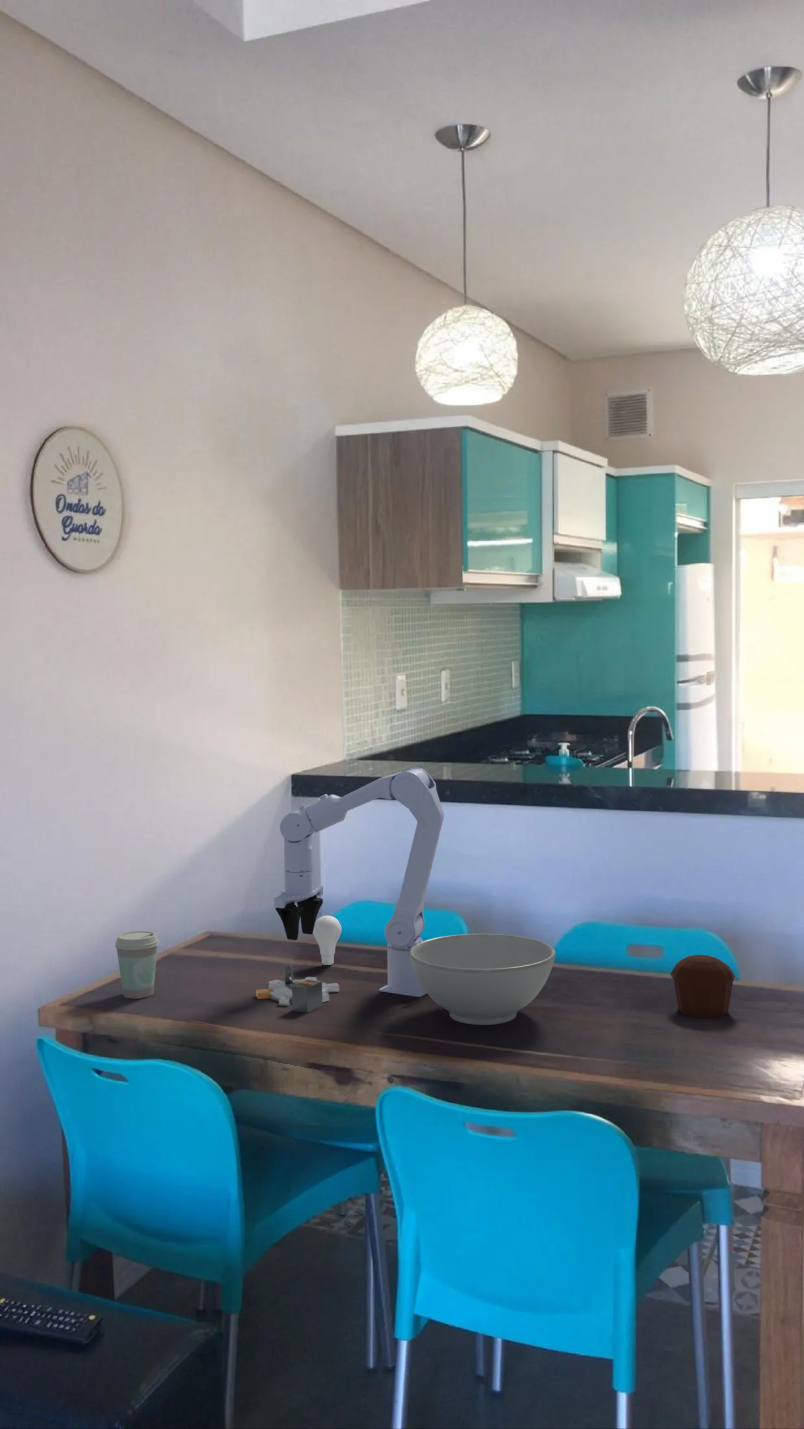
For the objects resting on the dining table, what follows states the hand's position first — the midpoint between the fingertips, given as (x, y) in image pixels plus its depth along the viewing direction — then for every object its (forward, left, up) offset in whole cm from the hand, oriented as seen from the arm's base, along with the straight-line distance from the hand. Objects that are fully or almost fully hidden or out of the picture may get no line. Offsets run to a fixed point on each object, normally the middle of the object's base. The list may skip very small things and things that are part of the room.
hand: (300, 936), depth 241 cm
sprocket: (-4, +6, -10) cm, 12 cm away
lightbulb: (+3, -15, -10) cm, 18 cm away
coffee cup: (+25, +20, -10) cm, 34 cm away
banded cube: (-11, +13, -10) cm, 20 cm away
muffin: (-77, -20, -10) cm, 80 cm away
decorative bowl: (-42, +1, -10) cm, 43 cm away
